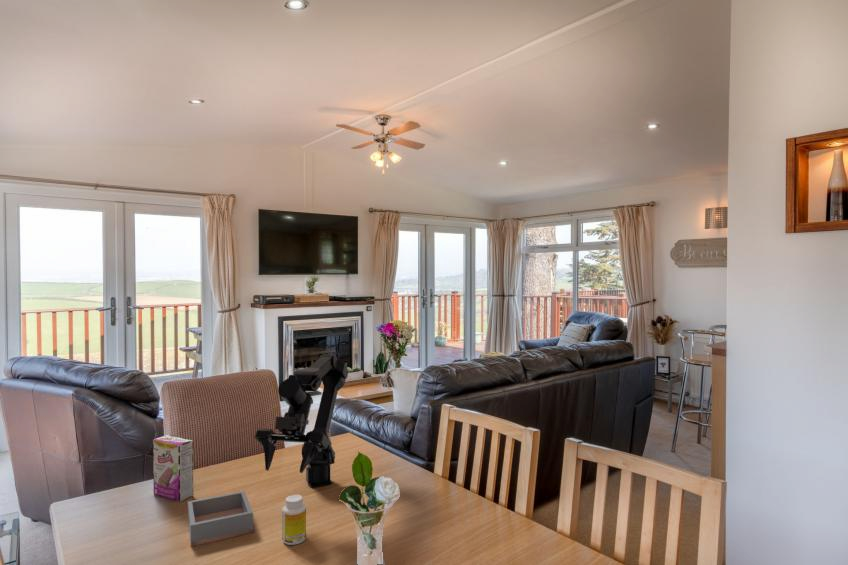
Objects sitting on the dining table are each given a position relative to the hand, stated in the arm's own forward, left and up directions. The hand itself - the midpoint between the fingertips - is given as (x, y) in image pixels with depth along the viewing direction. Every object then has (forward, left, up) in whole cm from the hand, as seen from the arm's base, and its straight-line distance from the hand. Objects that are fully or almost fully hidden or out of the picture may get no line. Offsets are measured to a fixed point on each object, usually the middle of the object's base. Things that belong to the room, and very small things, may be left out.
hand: (283, 471), depth 130 cm
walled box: (+15, -6, -13) cm, 21 cm away
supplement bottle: (0, +9, -14) cm, 17 cm away
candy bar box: (+25, -31, -14) cm, 42 cm away
